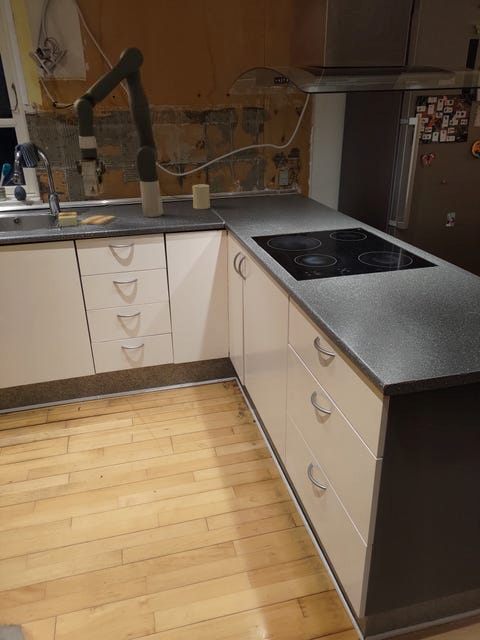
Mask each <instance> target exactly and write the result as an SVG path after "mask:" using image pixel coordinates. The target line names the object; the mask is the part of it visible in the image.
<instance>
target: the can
mask: <svg viewBox="0 0 480 640" xmlns="http://www.w3.org/2000/svg"><path fill="white" fill-rule="evenodd" d="M191 189H192V199H193V200H192V201H193V202H192V205H193V209H195V210H204V209H205V210H206V209H210V208H211V203H210V201H211V200H210V198H211V197H210V185H209V184H203V183H201V184H199V183H198V184H194V185H192V188H191Z"/></svg>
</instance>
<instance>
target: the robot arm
mask: <svg viewBox="0 0 480 640" xmlns="http://www.w3.org/2000/svg"><path fill="white" fill-rule="evenodd" d="M144 60H145V59H144V53H143V52H142V51H141V50H140V49H139V48H138V47H135V46H130V47H126V48H124V50H122V52H121V54H120V57H119V61H117V62H116V64H115V65H114V66H113V67H112V68H111V69H110V70H109V71H108V72H106V73H105V74H104V75H102V76H101V77H100V78H99V79H98V80H97V81H95V83H94V84H93V85H92V86H91V87H90V88H89V89H88V90H87V91H86V92H85V93H84V94H82V95H81V96H80V97H79V98H77V99H76V100H75V102H74V103H73V110H74V112H75V113H76V115H77V118H78V119H77V121H78V124H77V133H78V143H79V149H80V157H81V160H80V159H79V160H78V159H77V160H75V165H76V170H77V174H78V175H81V177H82V178H83V174H82V167H81V161H82V160H96V165H98V164H100V168H101V170H100V168H99V166H98V169H97V173H98V181H99V184H102V183H103V182H104V177H103V175H106V174H107V169H106V168H107V167H106V160H100V159H99V160H98V158H99V154H98V153H99V151H98V143H97V140H96V134H95V127H94V108H95V107H96V106H97V105H98V104H100V103H102V102H104V100H105V99H106V98H108V96H109V95H110V94H111V93H112V92H113V91H114V90H115V89H116V88H117V87H118V85H120V84H121V83H122V82H123V80H125V85H126V93H127V100H128V106H129V113H130V118H131V121H132V124H133V126H134V128H135V131H136V134H137V137H138V143H139V149H138V150H137V152H136V155H135V156H136V160H135V161H136V167H137V168H136V169H137V175H138V178H139V185H140V194H141V195H140V196H141V205H142V215H143V216H144V217H148V218H153V217H161V216H162V215H163V214H164V212H163V209H164V208H163V200H162V195H161V193H160V180H159V175H158V172H157V164H156V163H157V162H158V159H159V154H158V149H157V146H156V143H155V137H154V132H153V124H152V123H153V122H152V115H151V109H150V103H149V100H148V96H147V93H146V90H145V88H144V86H143V83H142V77H141V68H142V67H143V64H144ZM82 182H83V183H84V181H83V180H82Z"/></svg>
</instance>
